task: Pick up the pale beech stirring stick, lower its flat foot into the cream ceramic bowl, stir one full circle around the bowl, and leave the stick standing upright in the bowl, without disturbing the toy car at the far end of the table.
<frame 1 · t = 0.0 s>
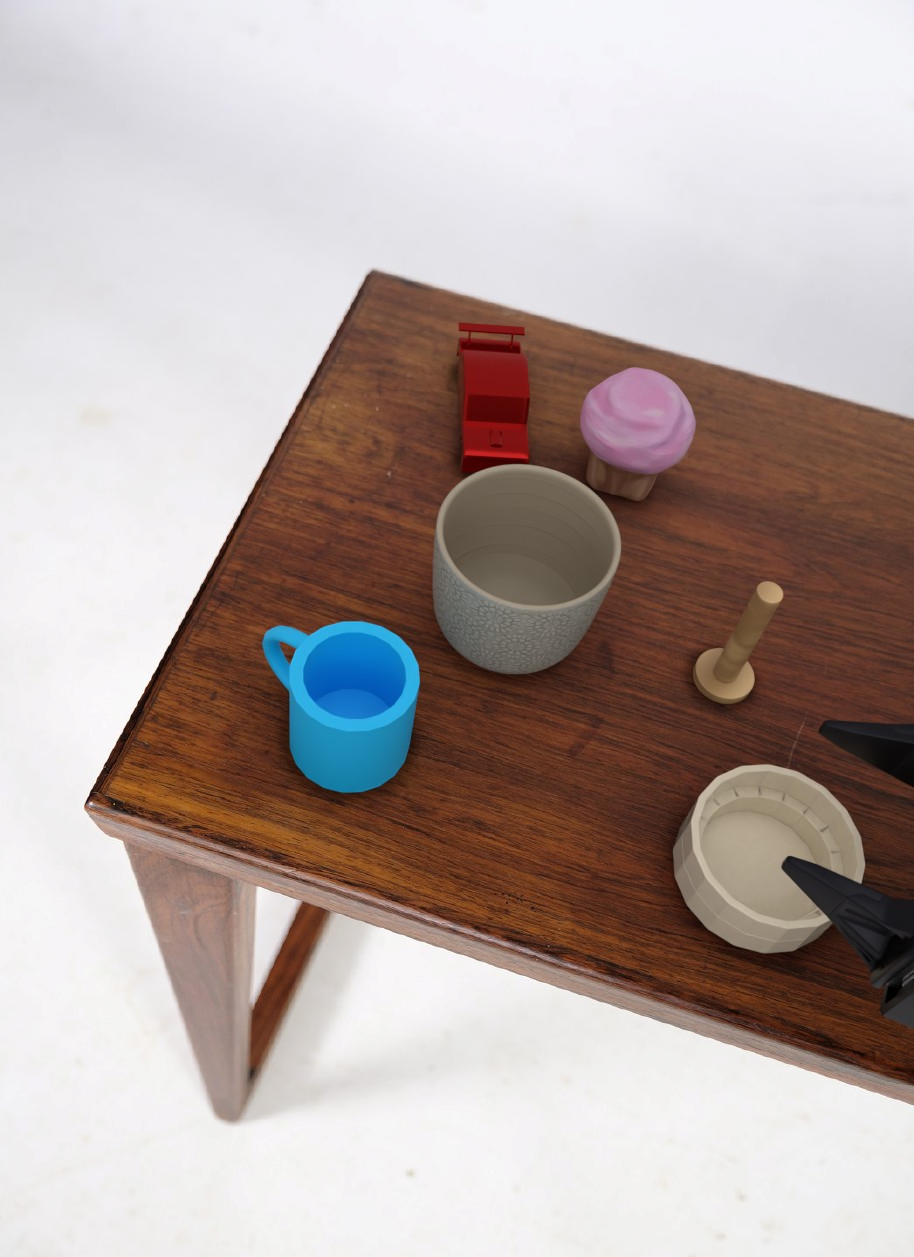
hand: (803, 791, 66), 15 cm above the table, tool horizontal, fingers open, 9 cm apart
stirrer: (722, 678, 87), on the table
planter: (505, 627, 88), on the table
cupcake: (618, 480, 98), on the table
toy car: (488, 420, 100), on the table
bowl: (752, 874, 79), on the table
mug: (329, 723, 82), on the table
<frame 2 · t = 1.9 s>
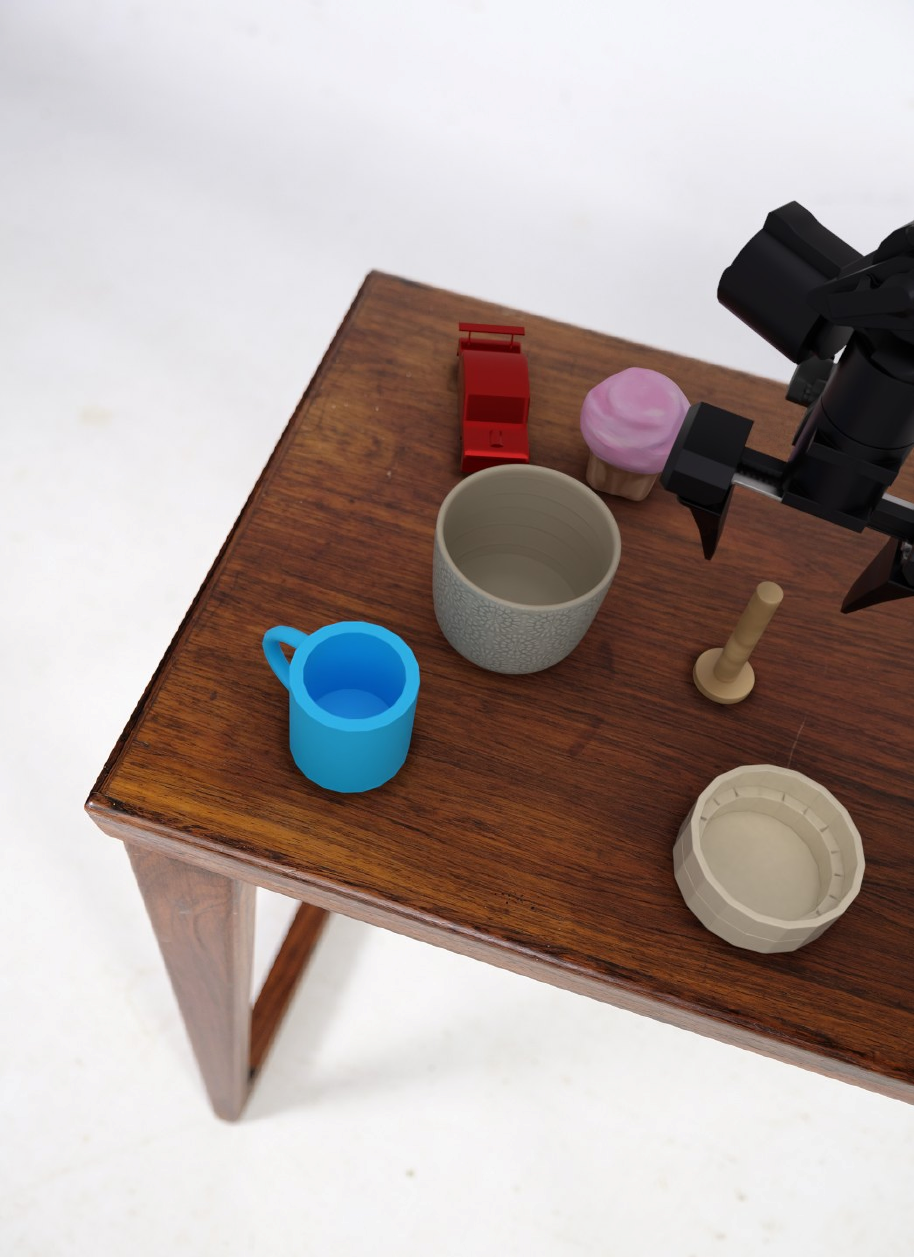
hand: (776, 581, 78), 12 cm above the table, tool pointing down, fingers open, 9 cm apart
nothing on the table moved.
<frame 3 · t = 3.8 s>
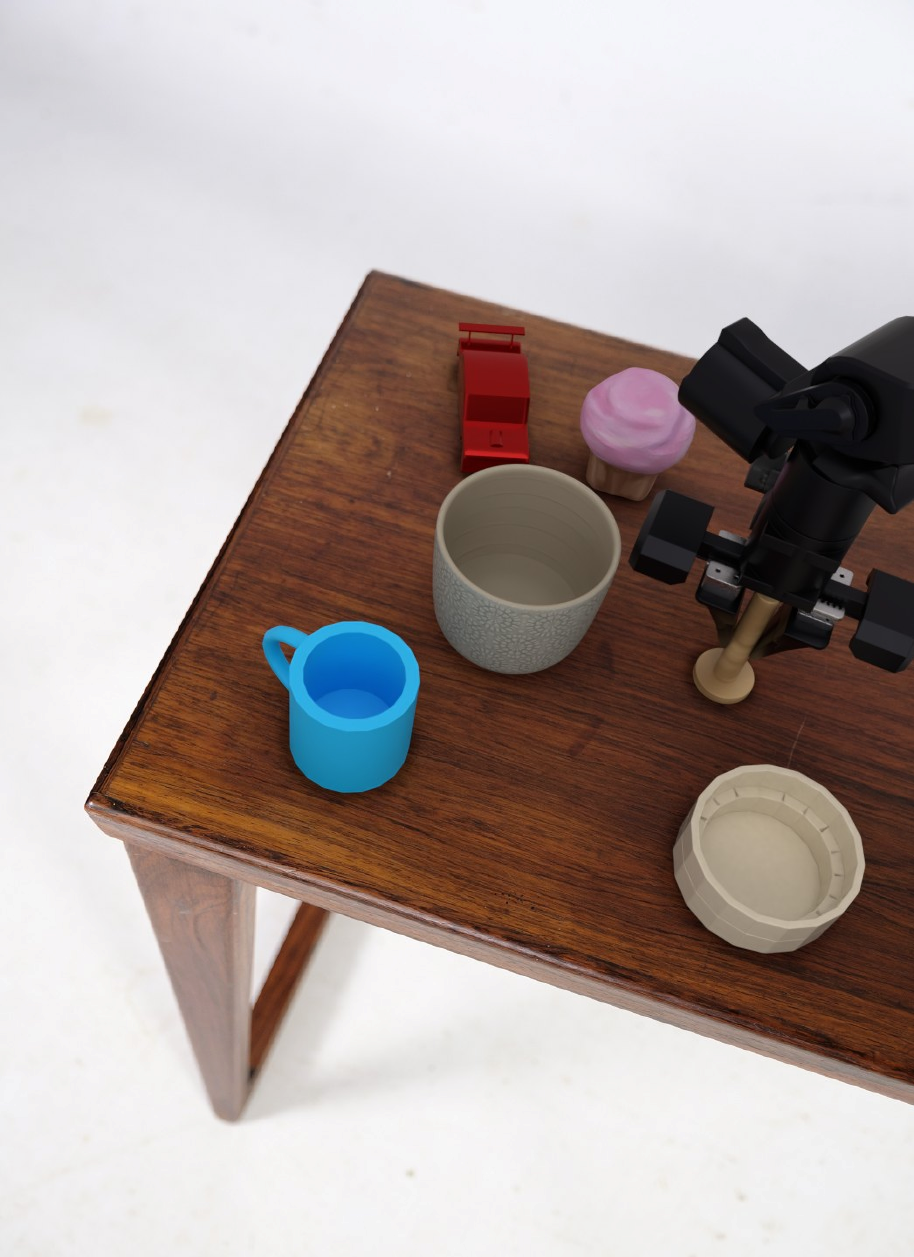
hand: (738, 648, 84), 4 cm above the table, tool pointing down, fingers closed on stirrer, 2 cm apart
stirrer: (722, 678, 87), on the table, touching gripper
everything else where it was.
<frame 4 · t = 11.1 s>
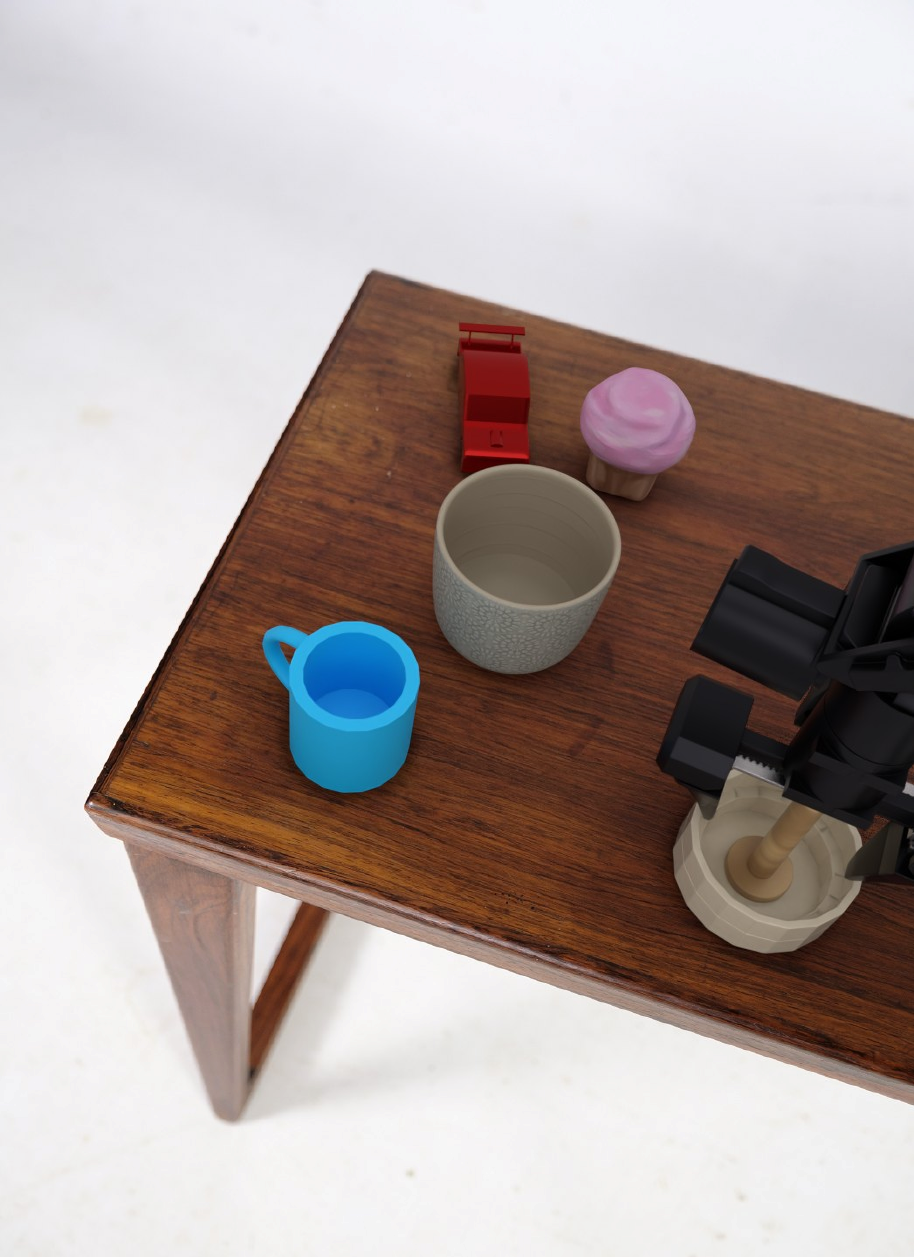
hand: (777, 842, 75), 5 cm above the table, tool pointing down, fingers open, 9 cm apart
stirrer: (756, 871, 78), point 1 cm above the table, touching bowl
everything else where it was.
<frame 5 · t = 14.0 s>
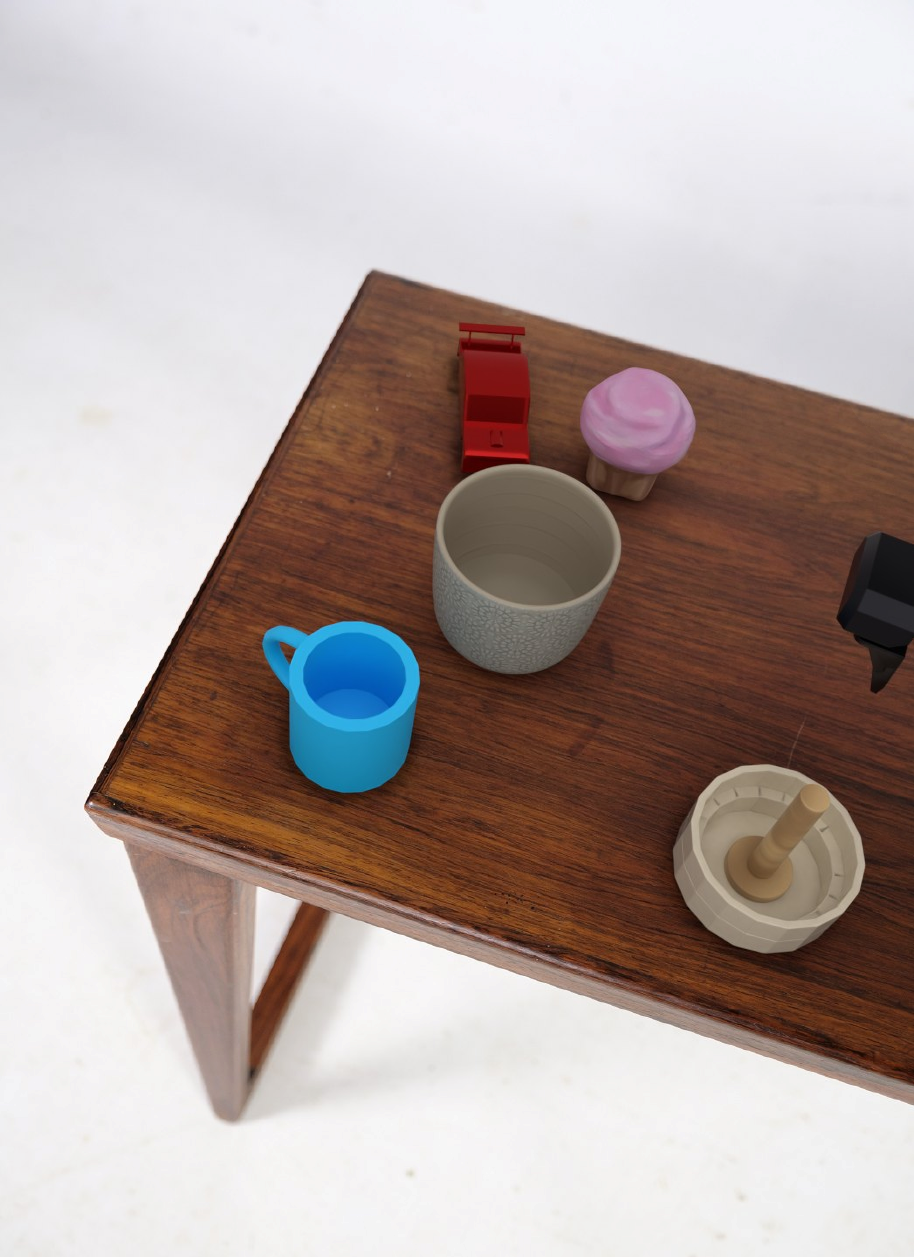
nothing on the table moved.
at the end: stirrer 0.0 cm off-centre in the bowl, point 0.6 cm above the bowl's base; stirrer tilted 0°; toy car moved 0.2 cm from its start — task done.
